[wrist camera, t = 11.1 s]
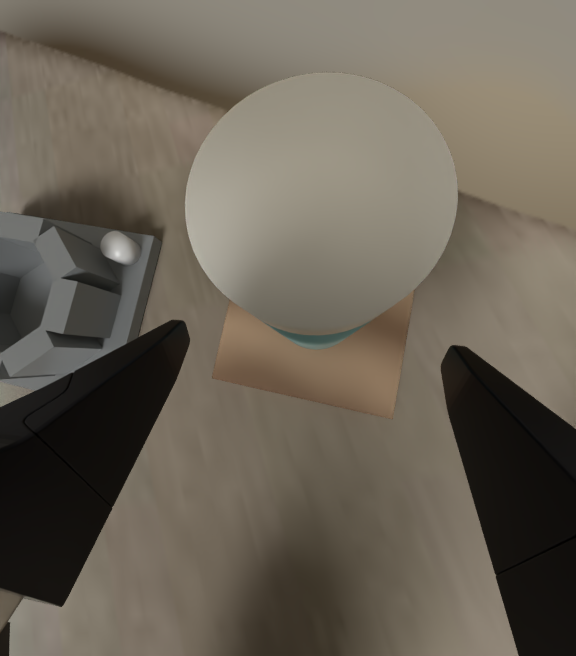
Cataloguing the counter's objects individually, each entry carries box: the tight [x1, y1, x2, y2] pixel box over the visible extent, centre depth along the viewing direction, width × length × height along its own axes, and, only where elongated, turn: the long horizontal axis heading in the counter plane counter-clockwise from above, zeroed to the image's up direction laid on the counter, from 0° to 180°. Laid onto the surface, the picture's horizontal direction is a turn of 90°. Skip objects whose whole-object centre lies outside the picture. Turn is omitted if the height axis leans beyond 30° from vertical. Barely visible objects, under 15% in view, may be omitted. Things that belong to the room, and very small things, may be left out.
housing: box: [0, 212, 162, 391], centre depth 18 cm, size 12×12×4 cm
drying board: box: [212, 289, 415, 419], centre depth 18 cm, size 11×11×2 cm
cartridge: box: [185, 72, 458, 350], centre depth 11 cm, size 5×5×12 cm
